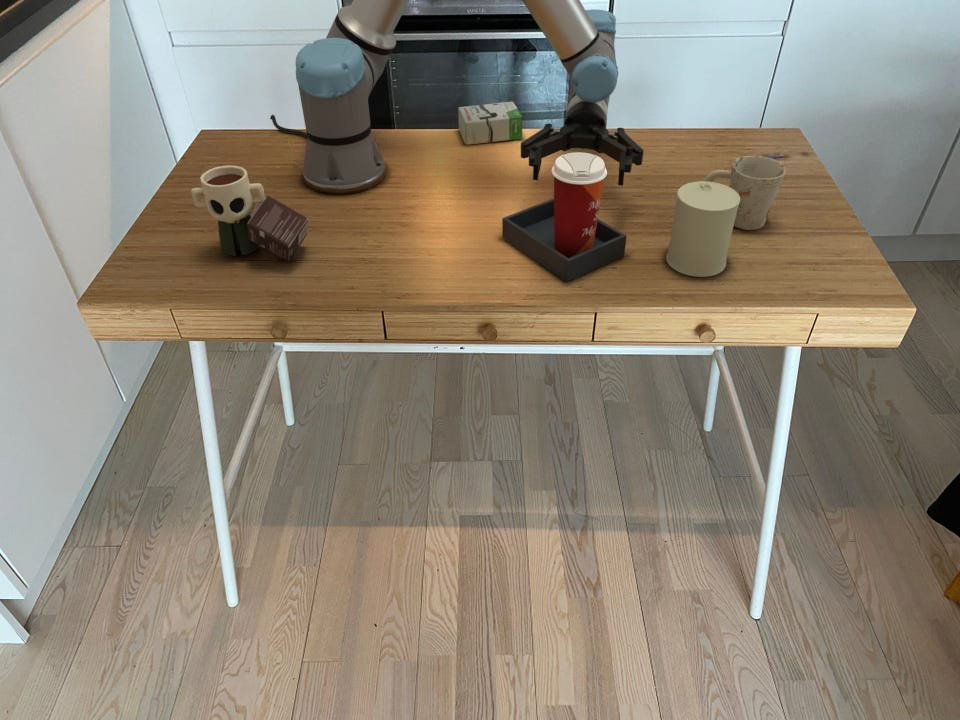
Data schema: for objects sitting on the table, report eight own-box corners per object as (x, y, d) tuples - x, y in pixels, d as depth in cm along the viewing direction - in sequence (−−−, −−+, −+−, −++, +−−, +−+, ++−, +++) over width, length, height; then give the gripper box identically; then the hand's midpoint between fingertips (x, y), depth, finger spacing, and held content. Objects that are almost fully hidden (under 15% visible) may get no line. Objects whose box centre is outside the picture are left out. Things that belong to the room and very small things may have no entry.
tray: (502, 238, 128) (502, 218, 126) (558, 215, 133) (559, 195, 131) (566, 282, 118) (568, 261, 115) (624, 256, 123) (626, 235, 121)
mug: (769, 237, 127) (784, 182, 121) (692, 225, 130) (702, 170, 124) (773, 213, 133) (787, 159, 127) (699, 202, 136) (709, 149, 130)
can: (719, 245, 125) (733, 178, 118) (731, 277, 118) (748, 207, 111) (662, 245, 126) (672, 177, 118) (671, 277, 119) (683, 207, 111)
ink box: (523, 116, 154) (464, 123, 152) (523, 139, 157) (465, 146, 155) (512, 99, 160) (456, 106, 159) (512, 122, 163) (457, 129, 162)
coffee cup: (601, 263, 120) (611, 175, 111) (548, 263, 120) (553, 175, 111) (596, 235, 127) (604, 149, 117) (546, 235, 127) (550, 149, 117)
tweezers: (802, 151, 151) (802, 155, 151) (746, 154, 149) (746, 159, 149) (807, 152, 149) (807, 156, 150) (751, 156, 147) (750, 160, 148)
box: (289, 263, 124) (248, 240, 123) (308, 234, 126) (268, 211, 125) (289, 247, 118) (246, 223, 117) (309, 217, 120) (267, 193, 119)
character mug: (204, 263, 123) (183, 189, 115) (210, 239, 128) (190, 167, 120) (274, 257, 124) (258, 183, 116) (276, 234, 129) (261, 162, 121)
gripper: (653, 144, 139) (654, 201, 123) (516, 137, 143) (500, 191, 127) (659, 104, 135) (661, 157, 119) (517, 97, 138) (500, 148, 122)
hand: (578, 175), depth 123 cm, fingers open, 13 cm apart
